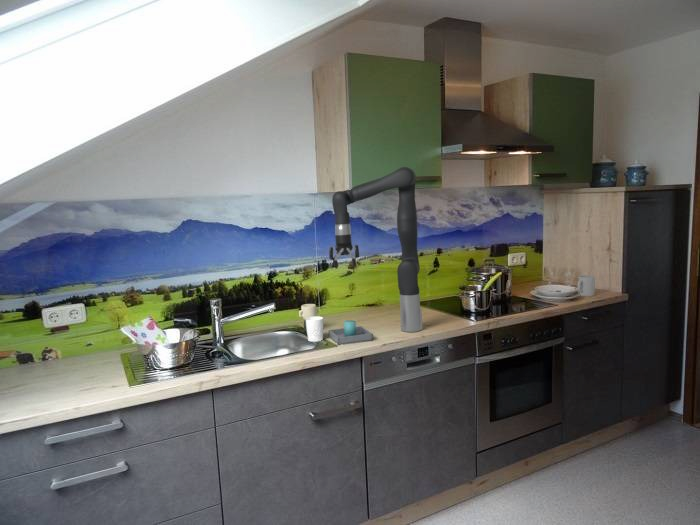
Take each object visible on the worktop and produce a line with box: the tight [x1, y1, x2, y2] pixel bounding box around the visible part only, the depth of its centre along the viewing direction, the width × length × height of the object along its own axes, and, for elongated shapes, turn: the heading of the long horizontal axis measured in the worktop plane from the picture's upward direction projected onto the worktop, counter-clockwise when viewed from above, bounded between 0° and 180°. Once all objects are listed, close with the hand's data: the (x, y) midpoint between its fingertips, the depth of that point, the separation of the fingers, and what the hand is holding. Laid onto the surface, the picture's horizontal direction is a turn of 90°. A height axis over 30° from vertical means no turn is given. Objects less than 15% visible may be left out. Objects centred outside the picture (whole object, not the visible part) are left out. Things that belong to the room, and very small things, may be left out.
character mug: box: [298, 303, 320, 333], centre depth 243 cm, size 11×7×13 cm, turn 127°
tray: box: [328, 325, 374, 346], centre depth 228 cm, size 16×16×3 cm
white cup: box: [306, 315, 324, 343], centre depth 228 cm, size 8×8×10 cm
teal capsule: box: [343, 320, 357, 337], centre depth 228 cm, size 5×5×7 cm
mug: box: [577, 275, 596, 297], centre depth 296 cm, size 12×8×11 cm
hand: (344, 267), depth 242 cm, fingers open, 8 cm apart
